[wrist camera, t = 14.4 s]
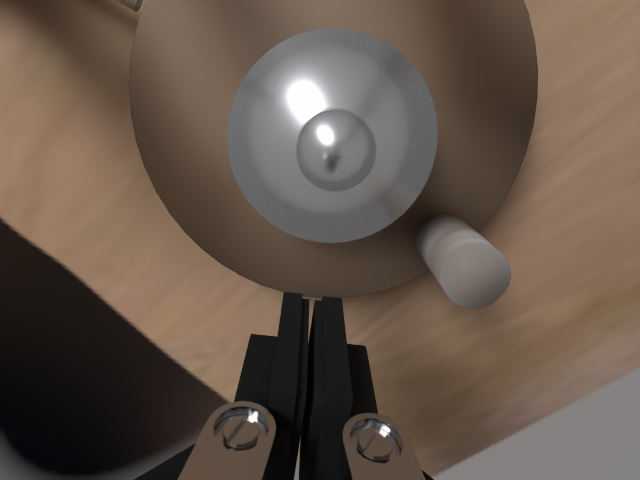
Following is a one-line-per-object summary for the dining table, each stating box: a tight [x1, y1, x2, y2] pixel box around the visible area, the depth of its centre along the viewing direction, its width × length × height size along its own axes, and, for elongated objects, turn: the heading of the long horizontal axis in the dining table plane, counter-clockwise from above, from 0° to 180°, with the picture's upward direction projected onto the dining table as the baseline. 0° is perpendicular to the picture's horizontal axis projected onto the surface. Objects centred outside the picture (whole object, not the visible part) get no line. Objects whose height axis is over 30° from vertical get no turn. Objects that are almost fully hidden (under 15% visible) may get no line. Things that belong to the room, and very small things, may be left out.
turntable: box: [129, 0, 538, 308], centre depth 15 cm, size 16×16×6 cm
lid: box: [227, 28, 438, 243], centre depth 14 cm, size 7×7×4 cm
